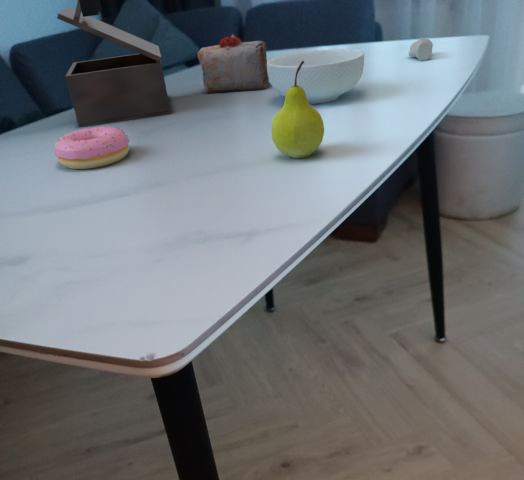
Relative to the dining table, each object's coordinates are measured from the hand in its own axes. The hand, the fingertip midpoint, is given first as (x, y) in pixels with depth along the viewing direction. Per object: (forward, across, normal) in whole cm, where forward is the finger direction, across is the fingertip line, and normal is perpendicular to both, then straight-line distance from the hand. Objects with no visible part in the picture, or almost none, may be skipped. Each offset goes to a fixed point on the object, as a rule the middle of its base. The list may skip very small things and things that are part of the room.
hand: (92, 13), depth 104 cm
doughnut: (+17, -30, +2) cm, 35 cm away
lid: (+4, 0, -2) cm, 4 cm away
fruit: (+17, -44, -26) cm, 54 cm away
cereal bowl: (+17, -12, -37) cm, 42 cm away
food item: (+17, +6, -25) cm, 31 cm away
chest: (+17, 0, -2) cm, 17 cm away
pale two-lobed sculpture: (+17, +10, -65) cm, 68 cm away
